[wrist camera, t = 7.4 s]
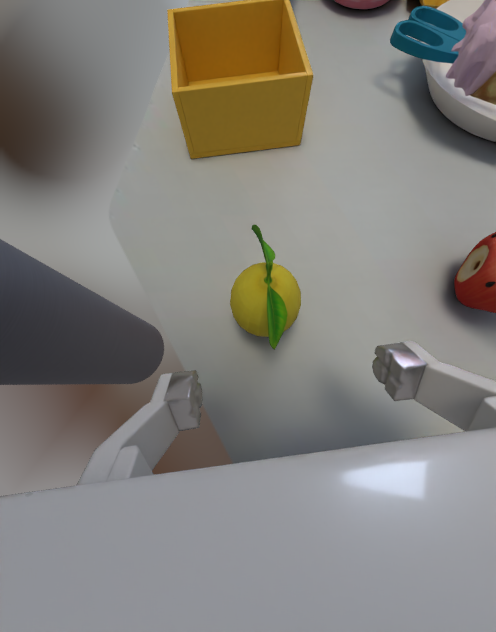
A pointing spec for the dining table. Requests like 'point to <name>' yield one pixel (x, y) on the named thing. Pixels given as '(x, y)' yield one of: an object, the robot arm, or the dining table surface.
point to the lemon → (265, 297)
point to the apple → (478, 277)
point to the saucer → (362, 3)
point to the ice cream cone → (477, 55)
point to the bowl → (452, 100)
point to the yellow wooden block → (433, 3)
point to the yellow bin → (238, 76)
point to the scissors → (429, 35)
